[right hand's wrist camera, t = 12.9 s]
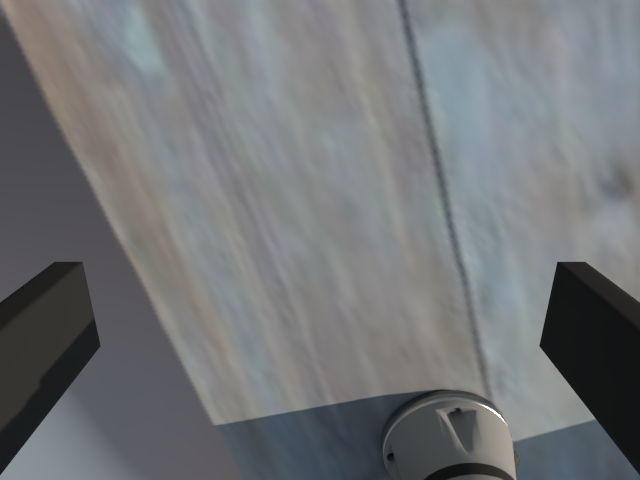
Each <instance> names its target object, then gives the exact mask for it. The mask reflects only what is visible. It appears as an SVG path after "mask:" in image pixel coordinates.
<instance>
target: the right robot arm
mask: <svg viewBox="0 0 640 480" xmlns="http://www.w3.org/2000/svg"><path fill="white" fill-rule="evenodd" d="M99 347H100V342H99V337H98V332H97V328H96V323H95V318H94V314H93V309H92V304H91V300H90V295H89V290H88V286H87V281H86V276H85V272H84V267H83V263H82V262H54V263H53V264H51V265H50V266H49V267H47V268H46V269H45V270H43V271H42V272H41V273H39V274H38V275H37V276H35V277H34V278H33V279H31V280H30V281H29V282H27V283H26V284H25V285H23V286H22V287H21V288H19V289H18V290H17V291H15V292H14V293H13V294H11V295H10V296H9V297H7V298H6V299H4V300H3V301H2V302H0V475H1V473H2V472H3V471H4V470H5V468H6V467H7V466H8V464H9V463H10V462H11V460H12V459H13V458H14V457H15V455H16V454H17V453H18V451H19V450H20V449H21V448H22V446H23V445H24V444H25V442H26V441H27V440H28V439H29V437H30V436H31V435H32V434H33V432H34V431H35V430H36V428H37V427H38V426H39V425H40V423H41V422H42V421H43V419H44V418H45V417H46V416H47V414H48V413H49V412H50V410H51V409H52V408H53V406H54V405H55V404H56V403H57V401H58V400H59V399H60V397H61V396H62V395H63V394H64V392H65V391H66V390H67V388H68V387H69V386H70V385H71V383H72V382H73V381H74V379H75V378H76V377H77V376H78V374H79V373H80V372H81V370H82V369H83V368H84V366H85V365H86V364H87V363H88V361H89V360H90V359H91V358H92V356H93V355H94V354H95V352H96V351H97V350H98V349H99ZM540 347H541V349H542V350H543V351H544V352H545V354H546V355H547V356H548V358H549V359H550V360H551V361H552V363H553V364H554V365H555V367H556V368H557V369H558V370H559V372H560V373H561V374H562V376H563V377H564V378H565V379H566V381H567V382H568V383H569V385H570V386H571V387H572V388H573V390H574V391H575V392H576V394H577V395H578V396H579V397H580V399H581V400H582V401H583V403H584V404H585V405H586V406H587V408H588V409H589V410H590V412H591V413H592V414H593V416H594V417H595V418H596V419H597V421H598V422H599V423H600V425H601V426H602V427H603V428H604V430H605V431H606V432H607V434H608V435H609V436H610V437H611V439H612V440H613V441H614V443H615V444H616V445H617V446H618V448H619V449H620V450H621V452H622V453H623V454H624V455H625V457H626V458H627V459H628V461H629V462H630V463H631V464H632V466H633V467H634V468H635V470H636V471H637V472H638V473H639V475H640V302H638V301H637V300H636V299H634V298H633V297H631V296H630V295H629V294H627V293H626V292H625V291H623V290H622V289H621V288H619V287H618V286H617V285H615V284H614V283H613V282H611V281H610V280H609V279H607V278H606V277H605V276H603V275H602V274H601V273H599V272H598V271H597V270H595V269H594V268H593V267H591V266H590V265H589V264H587V263H586V262H557V267H556V271H555V276H554V281H553V285H552V290H551V295H550V299H549V304H548V309H547V313H546V318H545V323H544V327H543V332H542V337H541V341H540ZM381 445H382V453H383V459H384V463H385V466H386V469H387V471H388V473H389V475H390V477H391V478H392V480H516V472H515V471H516V469H517V466H518V464H519V461H520V460H519V458H518V456H517V454H516V452H515V450H514V451H513V442H512V436H511V432H510V430H509V428H508V426H507V424H506V422H505V420H504V418H503V416H502V414H501V413H500V411H499V410H498V409H497V408H496V407H495V406H494V405H493V404H492V403H491V402H489V401H488V400H486V399H484V398H482V397H481V396H478V395H476V394H472V393H469V392H464V391H456V390H446V391H437V392H432V393H428V394H424V395H422V396H419V397H417V398H415V399H413V400H411V401H409V402H407V403H406V404H404V405H403V406H402V407H400V408H399V409H398V410H397V411H396V412H395V413H394V414H393V415H392V416H391V418H390V419H389V421H388V422H387V424H386V426H385V428H384V431H383V434H382V441H381Z"/></svg>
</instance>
